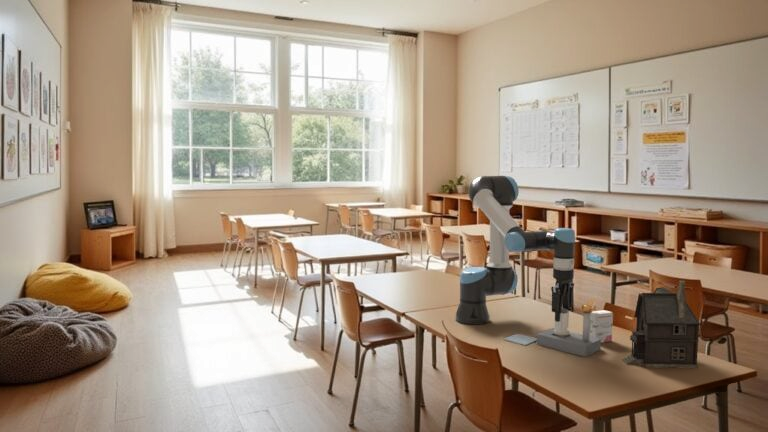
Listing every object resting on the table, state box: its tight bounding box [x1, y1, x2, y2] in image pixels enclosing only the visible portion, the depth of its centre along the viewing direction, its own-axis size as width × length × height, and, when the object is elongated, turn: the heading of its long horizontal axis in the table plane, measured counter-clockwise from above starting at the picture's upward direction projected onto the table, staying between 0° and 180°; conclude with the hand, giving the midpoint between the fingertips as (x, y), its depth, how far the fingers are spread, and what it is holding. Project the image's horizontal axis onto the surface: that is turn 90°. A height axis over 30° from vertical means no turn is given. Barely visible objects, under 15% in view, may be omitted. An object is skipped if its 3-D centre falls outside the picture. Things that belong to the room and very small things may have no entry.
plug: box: [553, 307, 570, 338], centre depth 216 cm, size 6×6×14 cm
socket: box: [536, 312, 602, 358], centre depth 214 cm, size 20×12×15 cm, turn 44°
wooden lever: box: [581, 298, 598, 314], centre depth 213 cm, size 16×4×5 cm, turn 149°
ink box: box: [589, 309, 614, 343], centre depth 221 cm, size 9×5×12 cm, turn 112°
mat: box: [503, 333, 537, 346], centre depth 222 cm, size 10×10×1 cm
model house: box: [621, 280, 702, 369], centre depth 199 cm, size 16×23×30 cm
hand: (561, 327), depth 216 cm, fingers closed on plug, 4 cm apart
